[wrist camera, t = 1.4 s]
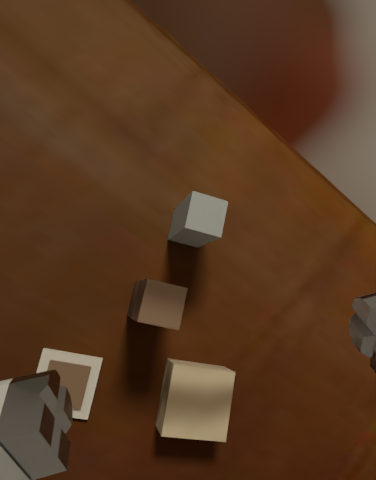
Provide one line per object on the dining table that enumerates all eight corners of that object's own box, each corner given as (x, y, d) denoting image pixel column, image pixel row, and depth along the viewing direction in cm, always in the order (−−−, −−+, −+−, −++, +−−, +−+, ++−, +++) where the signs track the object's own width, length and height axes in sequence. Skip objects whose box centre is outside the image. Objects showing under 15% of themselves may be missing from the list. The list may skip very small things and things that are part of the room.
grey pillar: (197, 247, 48) (221, 237, 40) (167, 239, 47) (184, 227, 39) (203, 217, 49) (228, 201, 40) (174, 209, 48) (192, 190, 39)
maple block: (214, 429, 45) (225, 442, 41) (154, 424, 43) (161, 436, 40) (223, 366, 47) (235, 372, 43) (166, 358, 45) (173, 363, 41)
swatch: (87, 418, 41) (87, 420, 40) (25, 410, 40) (24, 412, 39) (102, 358, 43) (102, 359, 42) (43, 347, 41) (42, 348, 40)
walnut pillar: (160, 322, 45) (179, 330, 36) (127, 315, 44) (137, 321, 35) (167, 289, 46) (187, 288, 37) (135, 282, 45) (147, 278, 36)
